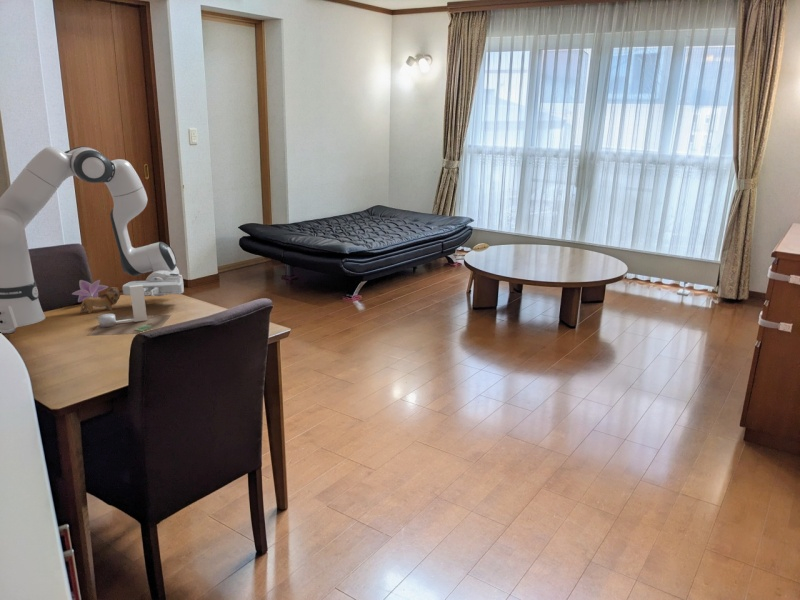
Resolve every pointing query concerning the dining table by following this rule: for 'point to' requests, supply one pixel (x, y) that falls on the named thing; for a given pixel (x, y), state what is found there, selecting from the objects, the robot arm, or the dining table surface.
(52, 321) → the dining table surface
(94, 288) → the lily
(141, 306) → the tuning peg
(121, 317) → the dial board
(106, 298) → the lion figurine
